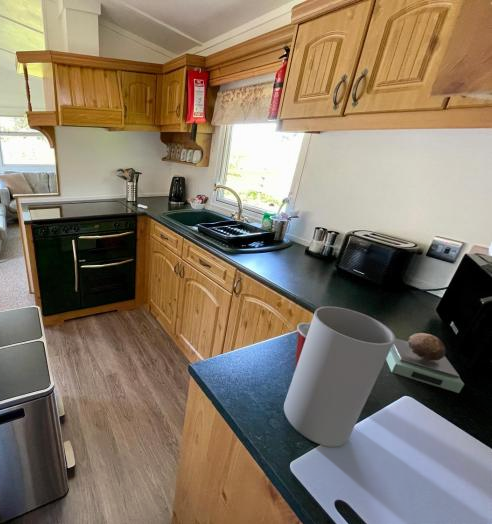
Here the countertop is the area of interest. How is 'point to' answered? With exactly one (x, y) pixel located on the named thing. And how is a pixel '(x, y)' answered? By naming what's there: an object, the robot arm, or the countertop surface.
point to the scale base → (423, 374)
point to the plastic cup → (301, 338)
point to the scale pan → (411, 358)
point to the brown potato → (426, 346)
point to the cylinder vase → (336, 374)
